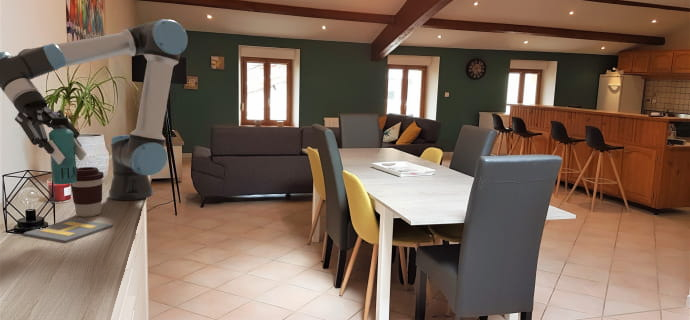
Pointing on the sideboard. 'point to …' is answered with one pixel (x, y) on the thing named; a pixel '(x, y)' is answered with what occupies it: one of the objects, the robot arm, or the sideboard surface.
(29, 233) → the letter board
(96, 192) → the coffee cup
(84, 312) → the sideboard surface
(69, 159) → the beverage bottle
